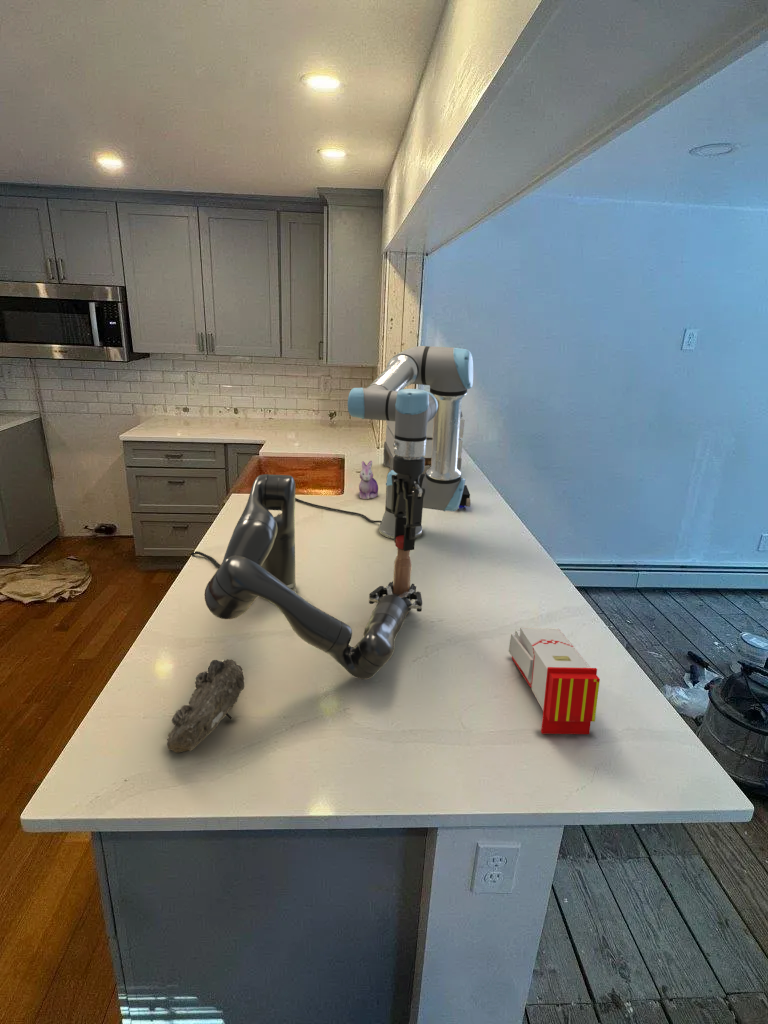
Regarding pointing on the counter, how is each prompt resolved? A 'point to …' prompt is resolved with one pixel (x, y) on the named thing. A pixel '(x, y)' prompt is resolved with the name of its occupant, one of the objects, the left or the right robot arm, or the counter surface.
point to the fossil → (206, 705)
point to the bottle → (402, 572)
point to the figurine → (367, 482)
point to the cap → (399, 541)
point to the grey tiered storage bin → (428, 454)
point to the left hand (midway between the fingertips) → (403, 585)
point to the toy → (557, 679)
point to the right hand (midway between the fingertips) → (404, 545)
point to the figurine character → (465, 498)
